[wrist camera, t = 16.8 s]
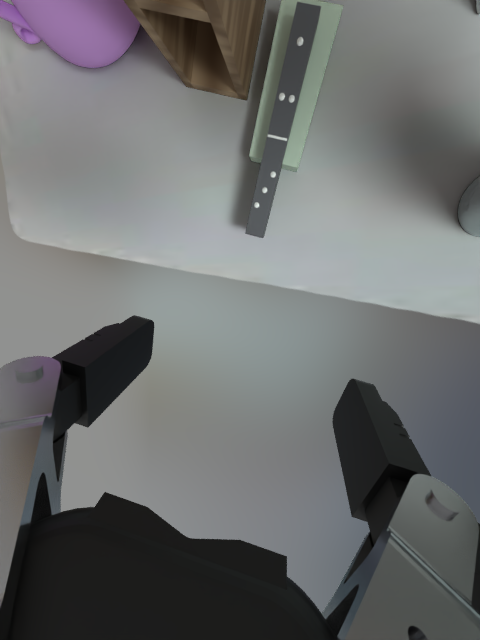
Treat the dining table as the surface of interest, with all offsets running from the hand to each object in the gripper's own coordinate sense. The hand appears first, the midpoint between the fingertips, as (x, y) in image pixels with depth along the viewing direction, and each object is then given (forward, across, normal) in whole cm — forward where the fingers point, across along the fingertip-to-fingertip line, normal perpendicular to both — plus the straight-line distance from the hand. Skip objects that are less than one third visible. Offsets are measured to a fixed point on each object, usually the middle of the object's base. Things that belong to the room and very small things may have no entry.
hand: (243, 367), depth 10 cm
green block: (+36, +4, -20) cm, 41 cm away
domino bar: (+32, +4, -14) cm, 35 cm away
